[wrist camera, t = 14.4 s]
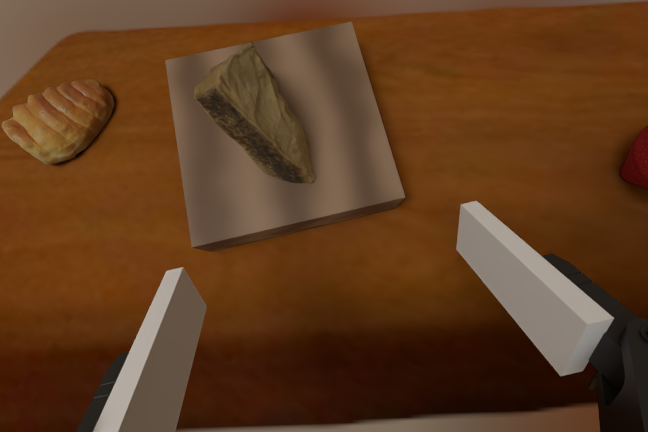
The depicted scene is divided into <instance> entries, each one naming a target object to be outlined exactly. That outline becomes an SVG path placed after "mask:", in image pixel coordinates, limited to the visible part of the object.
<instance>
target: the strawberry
mask: <svg viewBox="0 0 648 432" xmlns="http://www.w3.org/2000/svg"><path fill="white" fill-rule="evenodd" d="M621 176H622V178H623V179H624V180H626V181H627V182H630V183H634V184H637V185H639V186H641V187H644V188H646V189H648V126H647V127H646V128H644V129H643V130H642V131H641V132H640V133H639V135H638V136H637V138H636V140H635V141H634V143H633V145H632V147H631V149H630V150H629V152H628V155H627V157H626V160H625V163H624V166H623V167H622V169H621Z"/></svg>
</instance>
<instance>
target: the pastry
mask: <svg viewBox="0 0 648 432" xmlns="http://www.w3.org/2000/svg"><path fill="white" fill-rule="evenodd" d="M113 107H114V100H113V97H112V95H111V94H110V93H109V92H108V91H107V90H106V89H105V88H104V87H102V86H101V85H100V83H99V82H97V81H96V80H86V79H84V80H77V81H73V82H69V81H67V82H64V83H63V84H61V85H60V86H58V87H48V88H47V89H46V90H45V91H44V92H43V93H38V94H32V95H29V97H28V103H21V104H18V105H15V106H14V107H13V115H14V116H13V118H11V119H9V120H6V121H3V123H2V128H3V130H4V131H5V132H6V134H7V135H8V136H9V137H10V139H12V140H13V141H14V142H16V143H18V144H19V145H20V146H21V147H22V148H23V149H25V150H26V151H27V152H29V153H30V154H31V155H33V156H34V157H35V158H37V159H39V160H40V161H42V162H43V163H45V164H48V165H50V164H55V163H59V162H62V161H66V160H70V159H72V158H75V155H77V154H78V153H79V152H80V151H82V150H85V149H86V148H87V147H88V145H89V144H90V143H92V141H93V139H94V138H95V137H96V136H97V135H98V134H99V132H100V131H101V130H102V128H103V127H104V126H105V124H106V123H107V121H108V120H109V118H110V117H111V113H112V109H113Z"/></svg>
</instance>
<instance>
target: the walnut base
mask: <svg viewBox="0 0 648 432" xmlns="http://www.w3.org/2000/svg"><path fill="white" fill-rule="evenodd" d="M252 43H253V44H254V46H255V48H256V51H257V53H258V54H259V55H260V57H261V58H262V60H263V61H264V63H265V64H267V66H268V67H269V69H270V70H272V72H273V74H274V75H275V77H276V80H277V87H278V93H279V94H280V95H281V96H282V97H283V98H284V100H285V101H286V103H287V104H288V107H289V109H290V111H291V112H292V113H293V115H295V117H296V118H297V120H298V121H299V123H300V124H301V126H302V128H303V132H304V134H305V135H306V138H307V140H308V141H309V143H308V147H309V151H310V152H309V153H310V155H309V157H310V161H311V170H312V173H313V174H314V176H315V180H314V182H313V183H306V182H305V183H291V182H287V181H285V180H281V179H278V178H274V177H272V176H269V175H266V174H265V173H263V171H262V170H261V169H260V168H259V167H258V166H257V165H256V164H255V163H254V162H253V160H252V159H251V158H250V157H249V156H248V154H247V153H246V152H245V150H244V148H243V147H242V146H241V145H239V144H238V143H237V142H236V141H235V140H234V139H232V138H231V137H229V136H228V135H227V134H226V133H225V132H224V131H223V130H221V129H220V128H219V127H218V126H217V124H216V123H215V122H214V121H213V120H212V119H211V118H210V116H209V115H208V114H207V113H206V112H205V111H204V109H203V108H202V107H201V106H200V105H199V104H198V103H197V102H196V100H195V99H194V91H195V87H196V85H198V84H199V83H200V82H201V81H202V79H203V78H204V77H205V76H206V75H208V74H210V70H211V68H213V67H214V66H216V65H218V64H220V63H222V62H224V61H225V60H227V59H228V58H229V57H230V56H231V55H232V54H235V53H237V52H238V51H239V50H240V49H241V48H243V47H244V46H245V45H247V44H248V43H246V44H242V45H237V46H232V47H227V48H222V49H218V50H213V51H208V52H203V53H198V54H193V55H189V56H184V57H179V58H174V59H169V60H165V62H166V69H167V76H168V83H169V90H170V97H171V104H172V111H173V118H174V125H175V133H176V140H177V147H178V154H179V161H180V168H181V175H182V182H183V189H184V196H185V203H186V210H187V217H188V224H189V231H190V238H191V245H192V248H197V249H201V250H205V251H210V252H212V251H216V250H221V249H225V248H229V247H233V246H238V245H242V244H246V243H250V242H255V241H259V240H263V239H267V238H272V237H276V236H280V235H284V234H289V233H293V232H297V231H301V230H306V229H310V228H314V227H318V226H323V225H327V224H331V223H335V222H340V221H344V220H348V219H352V218H357V217H361V216H365V215H369V214H374V213H378V212H382V211H386V210H391V209H395V208H396V207H397V206H398V205H399V204H400V202H401V201H402V200H403V199H404V198H405V194H404V191H403V188H402V185H401V181H400V178H399V175H398V171H397V168H396V165H395V162H394V158H393V155H392V152H391V149H390V145H389V142H388V139H387V136H386V132H385V129H384V126H383V123H382V119H381V116H380V113H379V110H378V106H377V103H376V100H375V97H374V93H373V90H372V87H371V83H370V80H369V77H368V74H367V70H366V67H365V64H364V61H363V57H362V54H361V51H360V48H359V44H358V41H357V38H356V35H355V31H354V28H353V25H352V22H347V23H343V24H338V25H333V26H328V27H323V28H319V29H314V30H309V31H304V32H299V33H294V34H290V35H285V36H280V37H275V38H270V39H266V40H261V41H256V42H252Z"/></svg>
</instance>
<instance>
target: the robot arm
mask: <svg viewBox="0 0 648 432" xmlns="http://www.w3.org/2000/svg"><path fill="white" fill-rule="evenodd" d="M456 250H457V251H458V252H459V253H460V254H461V256H462V257H463V258H464V259H465V260H466V262H467V263H468V264H469V265H470V267H471V268H472V269H473V270H474V271H475V273H476V274H477V275H478V276H479V278H480V279H481V280H482V281H483V282H484V284H485V285H486V286H487V287H488V288H489V290H490V291H491V292H492V293H493V295H494V296H495V297H496V298H497V299H498V301H499V302H500V303H501V304H502V306H503V307H504V308H505V309H506V310H507V312H508V313H509V314H510V315H511V317H512V318H513V319H514V320H515V321H516V323H517V324H518V325H519V326H520V327H521V329H522V330H523V331H524V332H525V334H526V335H527V336H528V337H529V338H530V340H531V341H532V342H533V343H534V345H535V346H536V347H537V348H538V349H539V351H540V352H541V353H542V354H543V356H544V357H545V358H546V359H547V360H548V362H549V363H550V364H551V365H552V366H553V368H554V369H555V370H556V371H557V373H558V374H559V375H560V376H564V375H568V374H572V373H577V372H581V371H583V370H584V368H585V367H586V365H587V363H588V362H589V361H590V362H591V363H592V364H593V365H594V366H595V367H596V368H597V369H598V370H597V372H596V373H595V375H594V376H593V378H592V379H591V381H590V383H589V386H588V389H590V390H593V389H594V387H595V386H596V385H597V397H598V409H599V420H600V432H648V319H640V318H639V317H637V316H636V315H635V314H633V313H632V312H631V311H629V310H628V309H627V308H626V307H624V306H623V305H622V304H621V303H619V302H618V301H617V300H616V299H614V298H613V297H612V296H611V295H609V294H608V293H607V292H605V291H604V290H603V289H602V288H600V287H599V286H598V285H597V284H595V283H592V281H591V280H590V279H589V278H588V277H587V276H585V275H584V274H581V272H580V271H579V270H578V269H577V268H575V267H574V266H573V265H571V264H570V263H569V262H568V261H566V260H563V259H561V258H559V257H557V256H555V255H553V254H549V255H544V256H541V255H539V254H538V253H537V252H536V251H535V250H534V249H532V248H531V247H530V246H529V245H528V244H527V243H525V242H524V241H523V240H522V239H521V238H520V237H518V236H517V235H516V234H515V233H514V232H513V231H511V230H510V229H509V228H508V227H507V226H505V225H504V224H503V223H502V222H501V221H500V220H498V219H497V218H496V217H495V216H494V215H493V214H491V213H490V212H489V211H488V210H487V209H486V208H484V207H483V206H482V205H481V204H480V203H478V202H477V201H474V202H470V203H465V204H461V207H460V217H459V227H458V238H457V248H456ZM206 308H207V306H206V304H205V303H204V301H203V299H202V298H201V296H200V294H199V293H198V291H197V289H196V288H195V286H194V284H193V283H192V281H191V279H190V278H189V276H188V274H187V273H186V271H185V270H184V268H183V267H182V268H177V269H173V270H169V271H166V273H165V275H164V278H163V280H162V282H161V284H160V286H159V289H158V291H157V293H156V295H155V297H154V300H153V302H152V304H151V306H150V308H149V310H148V313H147V315H146V317H145V319H144V321H143V324H142V326H141V328H140V330H139V332H138V334H137V337H136V339H135V341H134V343H133V345H132V348H131V350H130V352H127V353H122V354H120V355H119V356H118V357H117V358H116V359H115V361H114V362H113V363H112V364H111V365H110V367H109V368H108V369H107V371H106V373H105V375H104V377H103V379H102V381H101V383H100V387H98V389H97V391H96V393H95V395H94V400H92V401H91V403H90V405H89V407H88V409H87V411H86V413H85V415H84V417H83V419H82V421H81V423H80V425H79V427H78V429H77V431H76V432H175V430H176V426H177V422H178V418H179V414H180V410H181V406H182V402H183V398H184V394H185V391H186V387H187V383H188V379H189V375H190V371H191V367H192V363H193V359H194V355H195V351H196V347H197V343H198V339H199V335H200V331H201V327H202V323H203V319H204V315H205V312H206Z"/></svg>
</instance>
